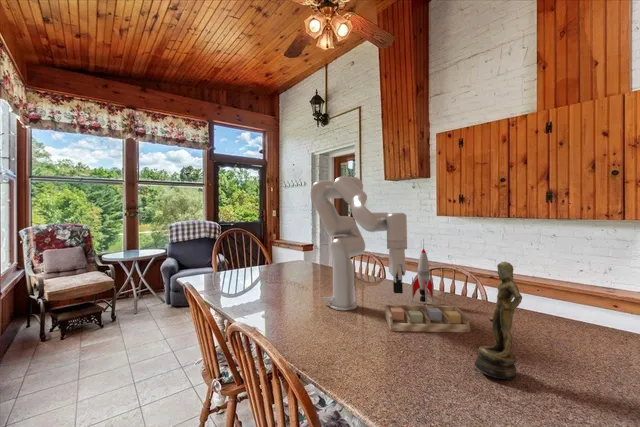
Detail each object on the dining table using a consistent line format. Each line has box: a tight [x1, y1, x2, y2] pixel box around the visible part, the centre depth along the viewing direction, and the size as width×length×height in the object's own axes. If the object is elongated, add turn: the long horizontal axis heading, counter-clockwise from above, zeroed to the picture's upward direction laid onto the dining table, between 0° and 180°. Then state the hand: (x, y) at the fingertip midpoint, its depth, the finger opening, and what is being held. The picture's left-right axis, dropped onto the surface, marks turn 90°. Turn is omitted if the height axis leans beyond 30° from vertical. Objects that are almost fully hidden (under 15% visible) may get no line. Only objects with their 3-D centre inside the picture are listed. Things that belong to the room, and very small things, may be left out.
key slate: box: [427, 308, 442, 320], centre depth 118 cm, size 4×4×3 cm
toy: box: [411, 239, 434, 306], centre depth 141 cm, size 10×9×30 cm
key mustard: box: [445, 311, 461, 323], centre depth 117 cm, size 4×4×3 cm
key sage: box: [408, 311, 423, 323], centre depth 118 cm, size 4×4×3 cm
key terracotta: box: [390, 308, 404, 319], centre depth 119 cm, size 4×4×3 cm
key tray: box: [384, 304, 471, 333], centre depth 118 cm, size 28×14×5 cm, turn 86°
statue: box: [474, 261, 523, 380], centre depth 82 cm, size 11×11×30 cm
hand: (398, 292), depth 118 cm, fingers closed
